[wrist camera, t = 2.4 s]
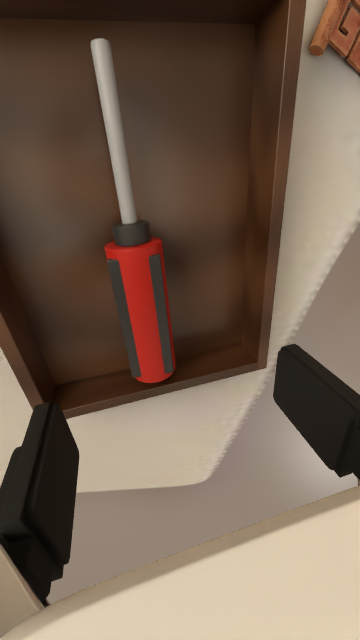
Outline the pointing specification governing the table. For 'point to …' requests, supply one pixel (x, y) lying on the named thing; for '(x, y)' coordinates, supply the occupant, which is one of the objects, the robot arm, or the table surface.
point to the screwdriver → (134, 249)
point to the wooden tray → (142, 185)
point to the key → (331, 34)
